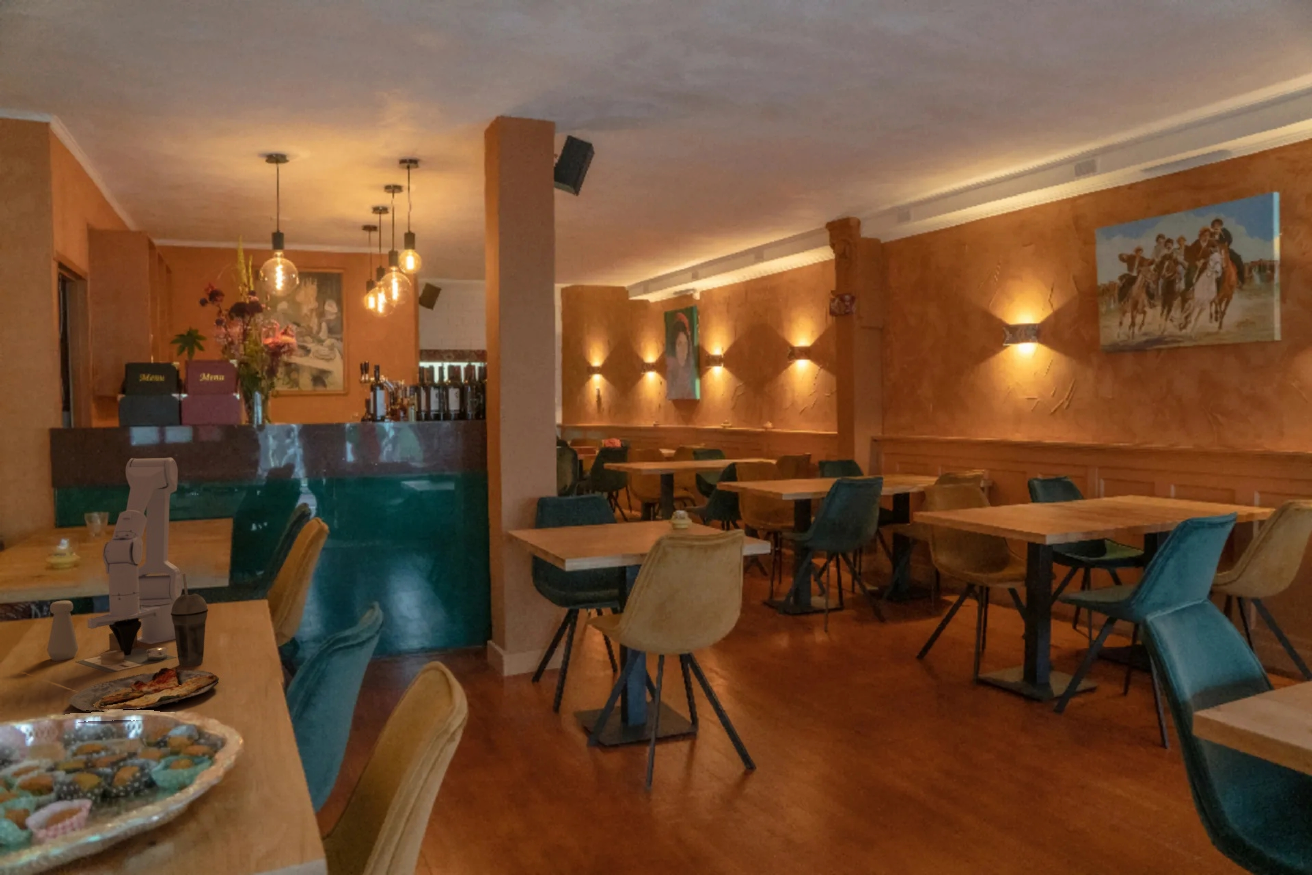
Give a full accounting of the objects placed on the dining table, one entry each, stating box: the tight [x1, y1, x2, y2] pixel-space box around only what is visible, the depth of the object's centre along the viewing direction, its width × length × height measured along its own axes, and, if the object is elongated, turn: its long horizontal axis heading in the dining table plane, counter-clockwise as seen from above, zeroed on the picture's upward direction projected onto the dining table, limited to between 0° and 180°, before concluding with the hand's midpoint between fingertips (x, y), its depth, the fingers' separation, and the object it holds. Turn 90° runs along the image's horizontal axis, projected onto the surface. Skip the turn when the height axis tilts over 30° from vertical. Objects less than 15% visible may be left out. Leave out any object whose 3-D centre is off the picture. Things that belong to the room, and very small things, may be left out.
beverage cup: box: [171, 573, 209, 668], centre depth 198 cm, size 7×7×20 cm
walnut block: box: [108, 632, 139, 651], centre depth 214 cm, size 4×4×4 cm
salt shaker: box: [46, 600, 79, 662], centre depth 205 cm, size 6×6×13 cm
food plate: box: [68, 666, 220, 712], centre depth 175 cm, size 25×23×4 cm
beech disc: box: [100, 650, 124, 665], centre depth 200 cm, size 4×4×2 cm
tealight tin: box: [147, 646, 168, 661], centre depth 203 cm, size 4×4×2 cm
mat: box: [75, 647, 178, 674], centre depth 203 cm, size 14×16×1 cm
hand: (126, 654), depth 203 cm, fingers closed
